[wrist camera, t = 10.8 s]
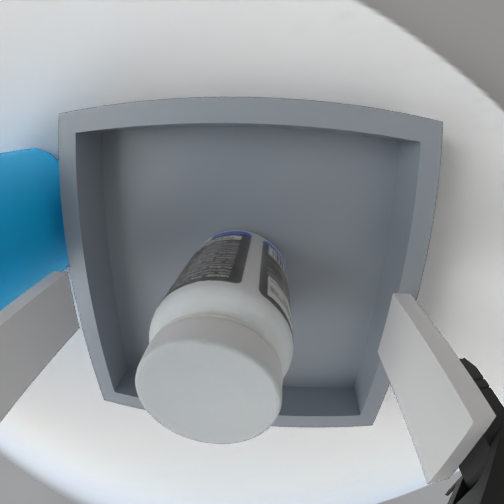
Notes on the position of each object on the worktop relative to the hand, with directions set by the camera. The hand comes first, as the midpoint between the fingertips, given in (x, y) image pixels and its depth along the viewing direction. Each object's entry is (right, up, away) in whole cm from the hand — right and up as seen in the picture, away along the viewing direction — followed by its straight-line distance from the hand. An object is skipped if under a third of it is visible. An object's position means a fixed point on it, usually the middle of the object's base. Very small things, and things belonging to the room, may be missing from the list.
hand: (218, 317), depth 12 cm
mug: (-14, +5, +4) cm, 16 cm away
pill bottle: (+1, +1, +4) cm, 4 cm away
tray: (+1, +2, +4) cm, 5 cm away
